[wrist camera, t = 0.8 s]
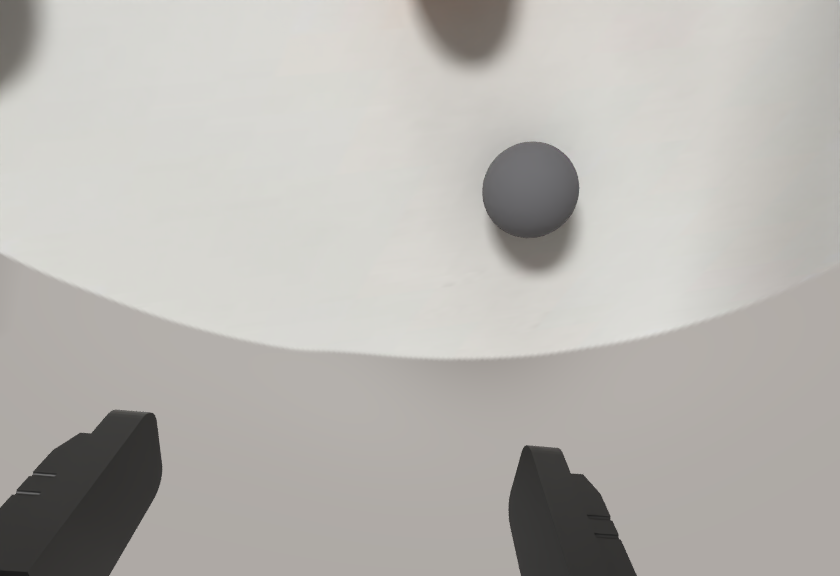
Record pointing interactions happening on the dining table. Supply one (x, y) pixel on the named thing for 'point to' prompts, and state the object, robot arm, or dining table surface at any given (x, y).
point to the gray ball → (530, 189)
